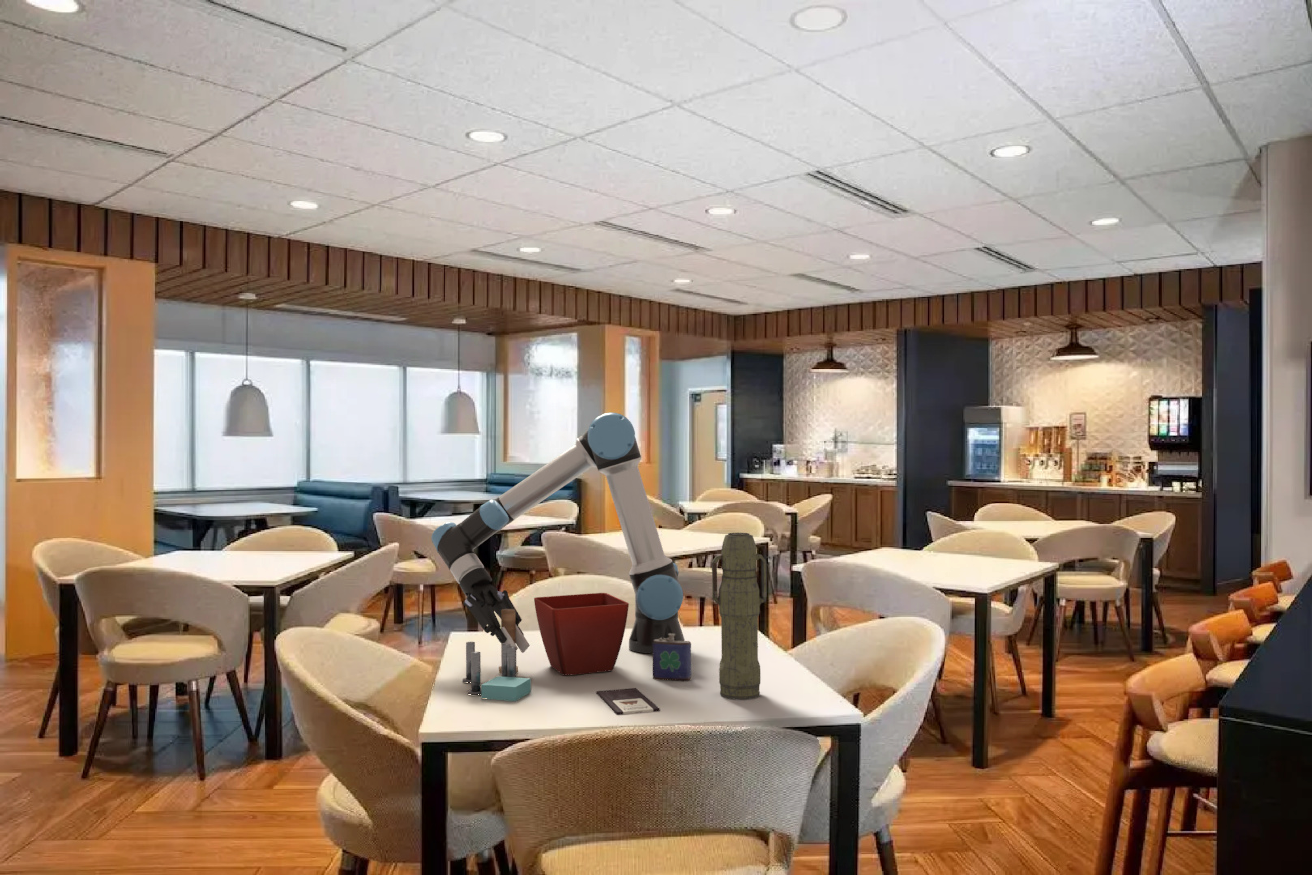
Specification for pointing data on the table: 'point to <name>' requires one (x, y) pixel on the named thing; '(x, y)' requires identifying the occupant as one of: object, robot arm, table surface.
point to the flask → (671, 659)
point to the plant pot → (582, 631)
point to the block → (506, 688)
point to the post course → (475, 671)
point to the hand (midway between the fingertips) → (519, 650)
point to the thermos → (739, 615)
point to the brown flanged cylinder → (508, 628)
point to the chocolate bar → (627, 701)
